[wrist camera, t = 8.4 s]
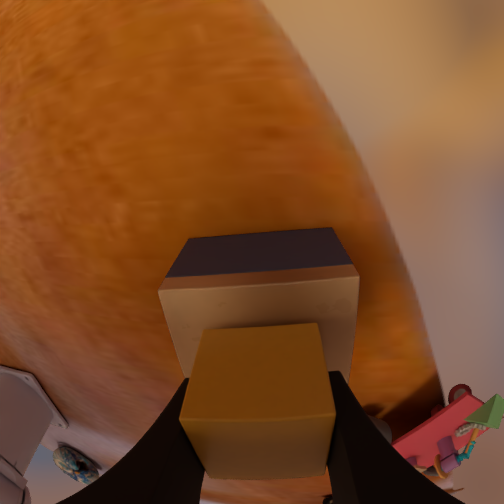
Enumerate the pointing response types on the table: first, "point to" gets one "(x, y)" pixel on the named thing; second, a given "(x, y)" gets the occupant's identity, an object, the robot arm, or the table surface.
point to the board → (265, 307)
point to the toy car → (446, 432)
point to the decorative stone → (75, 465)
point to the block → (260, 403)
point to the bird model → (328, 500)
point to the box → (260, 253)
